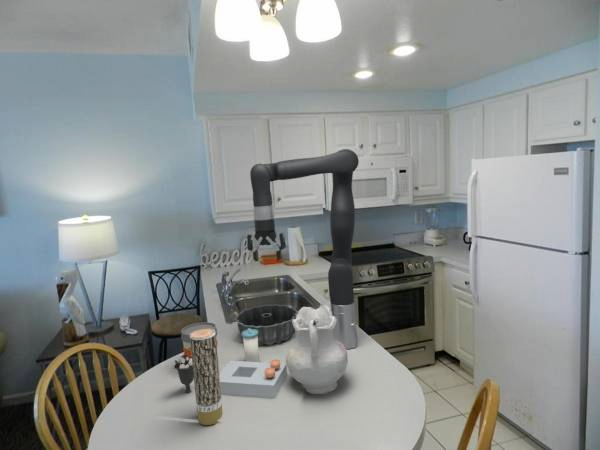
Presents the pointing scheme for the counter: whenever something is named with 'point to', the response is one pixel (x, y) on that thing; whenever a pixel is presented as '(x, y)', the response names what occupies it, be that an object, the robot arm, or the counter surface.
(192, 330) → the reusable coffee cup
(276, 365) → the plunger
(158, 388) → the counter surface
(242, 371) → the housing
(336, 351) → the ceramic pitcher
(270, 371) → the plunger
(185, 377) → the sundae
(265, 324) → the bundt pan
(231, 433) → the counter surface
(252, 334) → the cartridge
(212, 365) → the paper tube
